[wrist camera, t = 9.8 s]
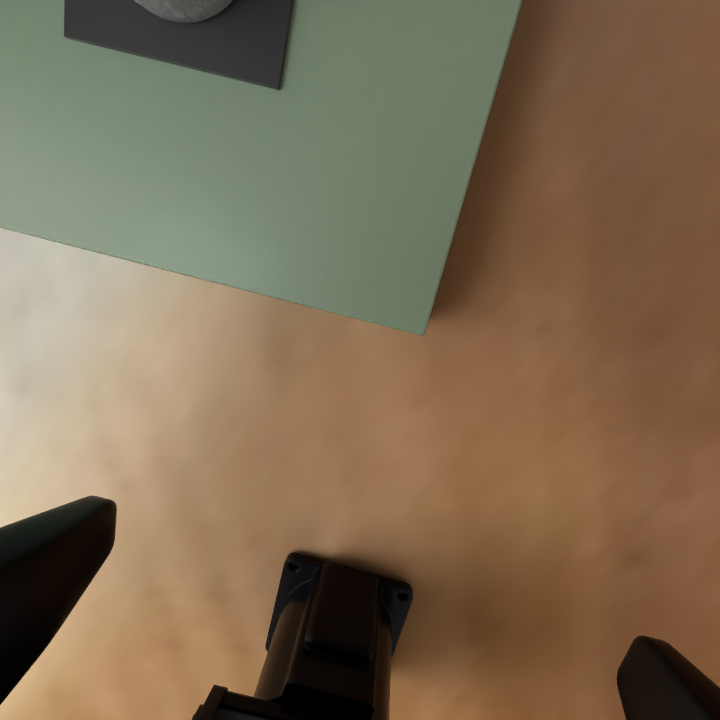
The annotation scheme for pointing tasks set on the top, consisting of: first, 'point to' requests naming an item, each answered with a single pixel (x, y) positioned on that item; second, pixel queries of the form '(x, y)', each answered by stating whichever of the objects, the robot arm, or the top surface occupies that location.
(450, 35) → the green lipped platform
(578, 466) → the top surface
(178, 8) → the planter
